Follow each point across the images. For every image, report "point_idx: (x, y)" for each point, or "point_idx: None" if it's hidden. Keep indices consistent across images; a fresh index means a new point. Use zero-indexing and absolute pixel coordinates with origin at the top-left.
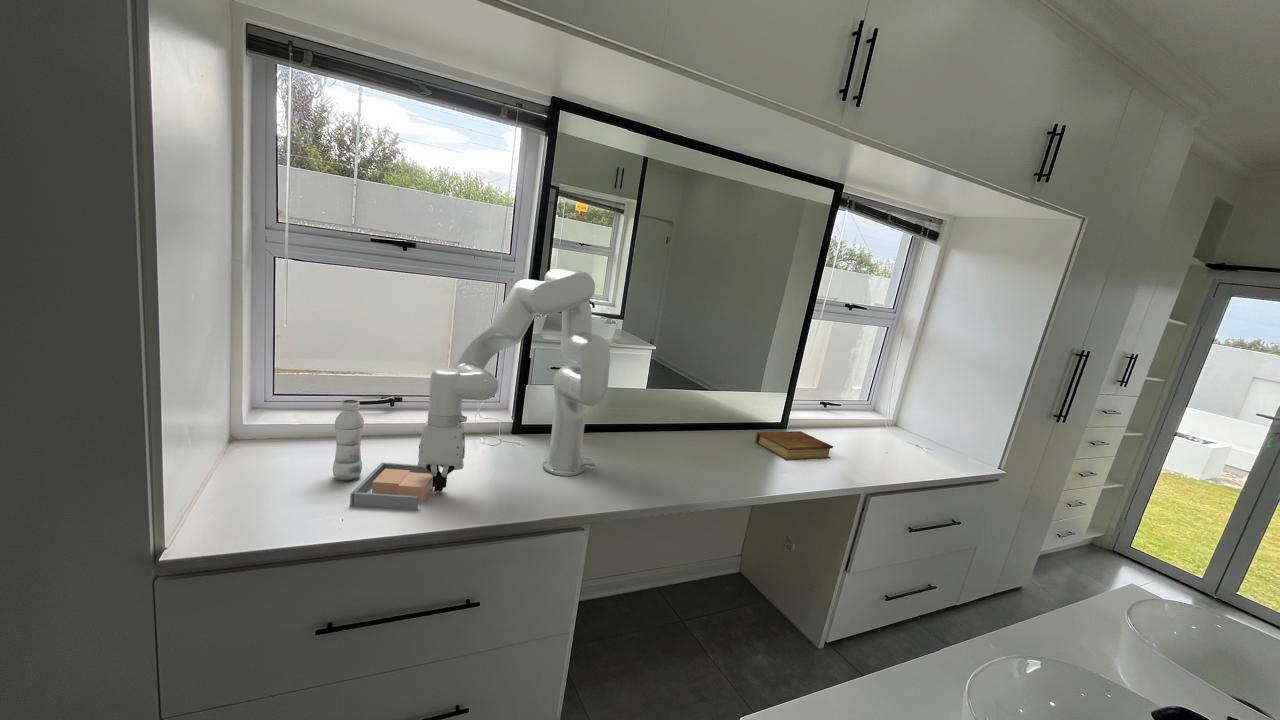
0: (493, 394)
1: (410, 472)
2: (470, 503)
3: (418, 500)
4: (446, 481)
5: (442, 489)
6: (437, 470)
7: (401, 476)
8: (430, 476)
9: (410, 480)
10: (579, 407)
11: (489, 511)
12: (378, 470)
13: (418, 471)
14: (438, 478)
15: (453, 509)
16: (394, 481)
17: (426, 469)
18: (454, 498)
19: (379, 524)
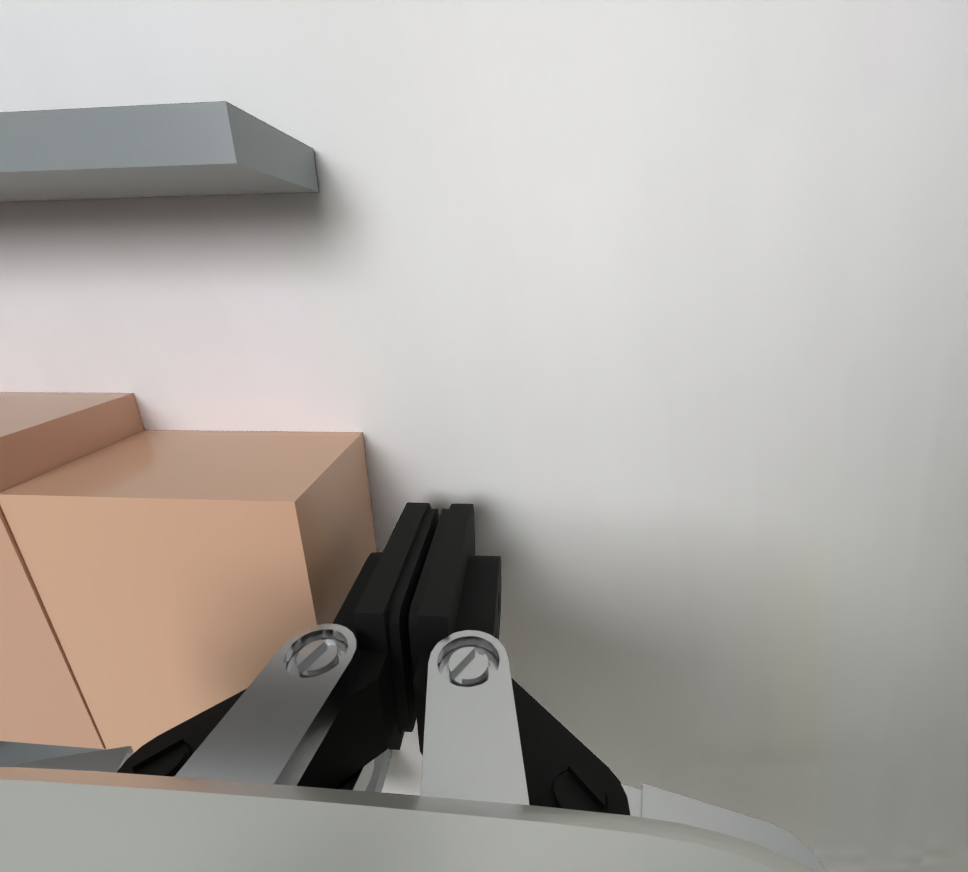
0: None
1: (14, 499)
2: (743, 666)
3: None
4: (497, 587)
5: (474, 551)
6: (344, 733)
7: (10, 617)
8: (287, 576)
9: (149, 683)
10: None
11: (893, 758)
12: None
13: (34, 186)
14: (414, 708)
15: (622, 742)
16: (35, 714)
17: (96, 175)
18: (601, 603)
19: None
